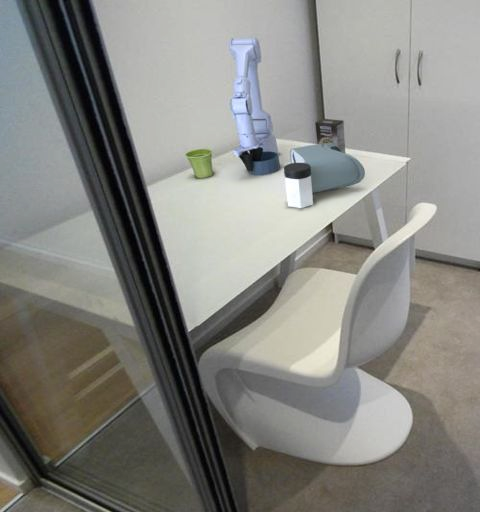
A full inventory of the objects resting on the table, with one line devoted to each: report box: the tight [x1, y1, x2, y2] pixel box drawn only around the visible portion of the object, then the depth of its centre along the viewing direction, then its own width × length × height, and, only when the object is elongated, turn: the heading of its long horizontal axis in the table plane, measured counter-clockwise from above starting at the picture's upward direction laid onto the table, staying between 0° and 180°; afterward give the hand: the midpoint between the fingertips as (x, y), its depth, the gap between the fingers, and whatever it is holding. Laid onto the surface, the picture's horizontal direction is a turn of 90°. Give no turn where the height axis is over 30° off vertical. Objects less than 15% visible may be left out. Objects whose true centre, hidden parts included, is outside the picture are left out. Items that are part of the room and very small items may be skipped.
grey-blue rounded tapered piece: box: [289, 143, 366, 194], centre depth 149 cm, size 22×19×13 cm
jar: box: [283, 162, 314, 209], centre depth 136 cm, size 9×8×12 cm
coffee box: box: [314, 118, 346, 154], centre depth 167 cm, size 9×6×16 cm
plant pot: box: [184, 148, 214, 179], centre depth 160 cm, size 9×9×9 cm
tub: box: [247, 151, 281, 176], centre depth 165 cm, size 12×12×5 cm
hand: (253, 169), depth 161 cm, fingers open, 3 cm apart
